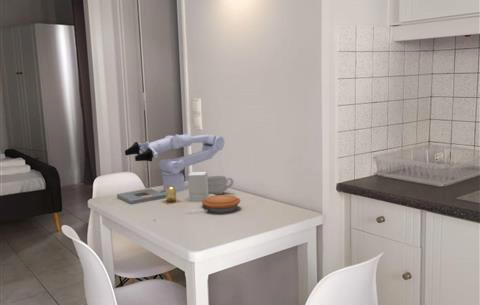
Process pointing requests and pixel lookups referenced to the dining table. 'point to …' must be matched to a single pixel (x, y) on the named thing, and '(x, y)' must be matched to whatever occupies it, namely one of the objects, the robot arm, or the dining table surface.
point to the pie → (221, 203)
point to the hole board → (141, 196)
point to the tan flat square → (171, 202)
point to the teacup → (218, 184)
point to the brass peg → (171, 194)
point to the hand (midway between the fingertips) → (130, 155)
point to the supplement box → (198, 186)
